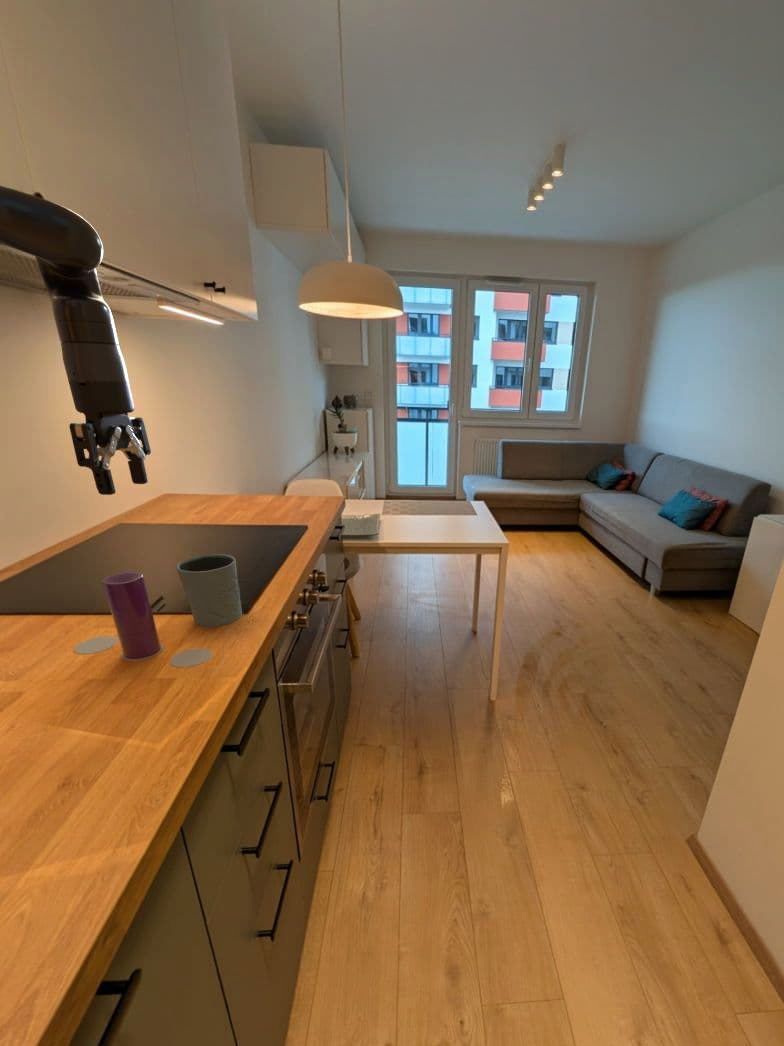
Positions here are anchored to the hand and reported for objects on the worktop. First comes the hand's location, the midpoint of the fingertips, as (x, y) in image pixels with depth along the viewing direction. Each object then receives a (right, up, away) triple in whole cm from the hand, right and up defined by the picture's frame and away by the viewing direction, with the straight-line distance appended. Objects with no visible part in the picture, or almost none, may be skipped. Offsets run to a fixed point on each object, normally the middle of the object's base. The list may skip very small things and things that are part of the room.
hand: (124, 488), depth 81 cm
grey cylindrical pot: (+6, -22, +19) cm, 29 cm away
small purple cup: (-1, -27, +6) cm, 27 cm away
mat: (-1, -27, +6) cm, 28 cm away
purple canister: (-1, -18, +2) cm, 19 cm away
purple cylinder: (-1, -22, +4) cm, 23 cm away
